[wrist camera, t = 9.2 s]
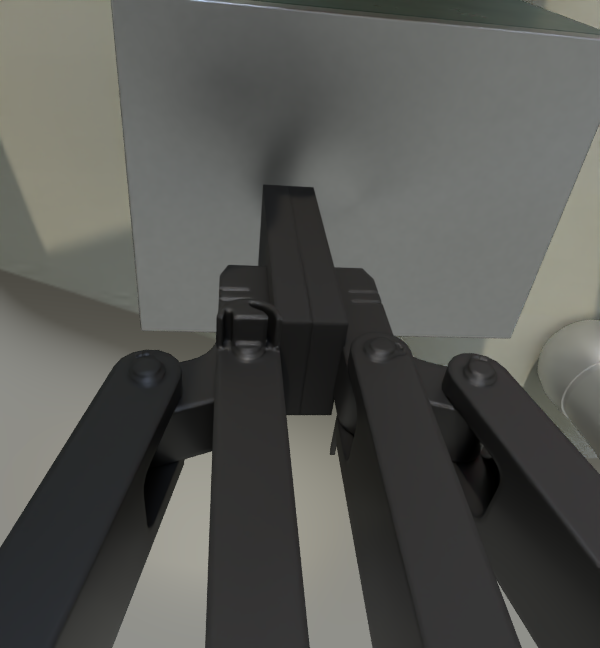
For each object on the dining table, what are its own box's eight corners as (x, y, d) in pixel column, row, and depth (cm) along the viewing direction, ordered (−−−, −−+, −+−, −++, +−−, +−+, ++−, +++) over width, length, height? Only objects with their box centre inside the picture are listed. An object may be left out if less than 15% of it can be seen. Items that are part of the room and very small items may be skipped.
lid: (143, 319, 23) (140, 331, 22) (114, -14, 16) (109, -10, 15) (503, 327, 25) (510, 339, 24) (620, 36, 18) (634, 42, 17)
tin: (182, 210, 30) (164, 318, 23) (175, -43, 24) (144, -11, 16) (439, 223, 32) (503, 327, 25) (503, -7, 25) (619, 36, 18)
